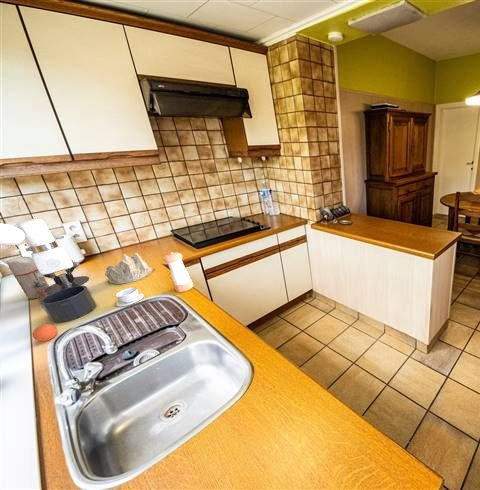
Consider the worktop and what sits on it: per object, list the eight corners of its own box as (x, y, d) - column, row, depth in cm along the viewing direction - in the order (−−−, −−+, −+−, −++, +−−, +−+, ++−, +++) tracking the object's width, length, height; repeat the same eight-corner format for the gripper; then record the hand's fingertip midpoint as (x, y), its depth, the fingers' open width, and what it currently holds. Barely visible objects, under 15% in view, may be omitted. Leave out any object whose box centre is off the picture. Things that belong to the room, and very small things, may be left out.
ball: (36, 347, 96) (27, 334, 93) (38, 339, 100) (29, 327, 97) (60, 338, 100) (52, 325, 97) (61, 331, 104) (53, 318, 101)
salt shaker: (189, 282, 134) (176, 248, 126) (196, 286, 130) (183, 251, 122) (173, 289, 128) (158, 253, 121) (180, 293, 124) (165, 257, 117)
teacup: (145, 300, 120) (140, 291, 119) (116, 310, 115) (111, 301, 113) (143, 291, 128) (139, 283, 126) (116, 300, 122) (112, 292, 120)
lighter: (38, 299, 126) (26, 281, 122) (48, 295, 129) (36, 278, 125) (49, 302, 124) (37, 283, 120) (58, 298, 127) (47, 280, 123)
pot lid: (44, 299, 114) (36, 287, 111) (46, 287, 123) (39, 276, 121) (90, 284, 123) (84, 273, 121) (89, 274, 132) (83, 264, 130)
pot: (51, 330, 104) (38, 311, 100) (53, 311, 116) (41, 293, 113) (97, 313, 113) (87, 295, 109) (95, 297, 125) (85, 280, 121)
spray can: (34, 293, 132) (11, 257, 124) (56, 288, 135) (35, 253, 127) (23, 301, 125) (-3, 264, 117) (47, 296, 128) (23, 260, 120)
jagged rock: (157, 268, 150) (144, 244, 143) (131, 285, 135) (116, 259, 128) (134, 270, 152) (120, 246, 145) (105, 286, 137) (89, 261, 131)
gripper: (14, 256, 107) (39, 293, 115) (71, 243, 118) (91, 278, 125) (17, 251, 112) (41, 287, 120) (71, 239, 123) (90, 273, 130)
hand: (66, 282), depth 122 cm, fingers closed on pot lid, 3 cm apart
